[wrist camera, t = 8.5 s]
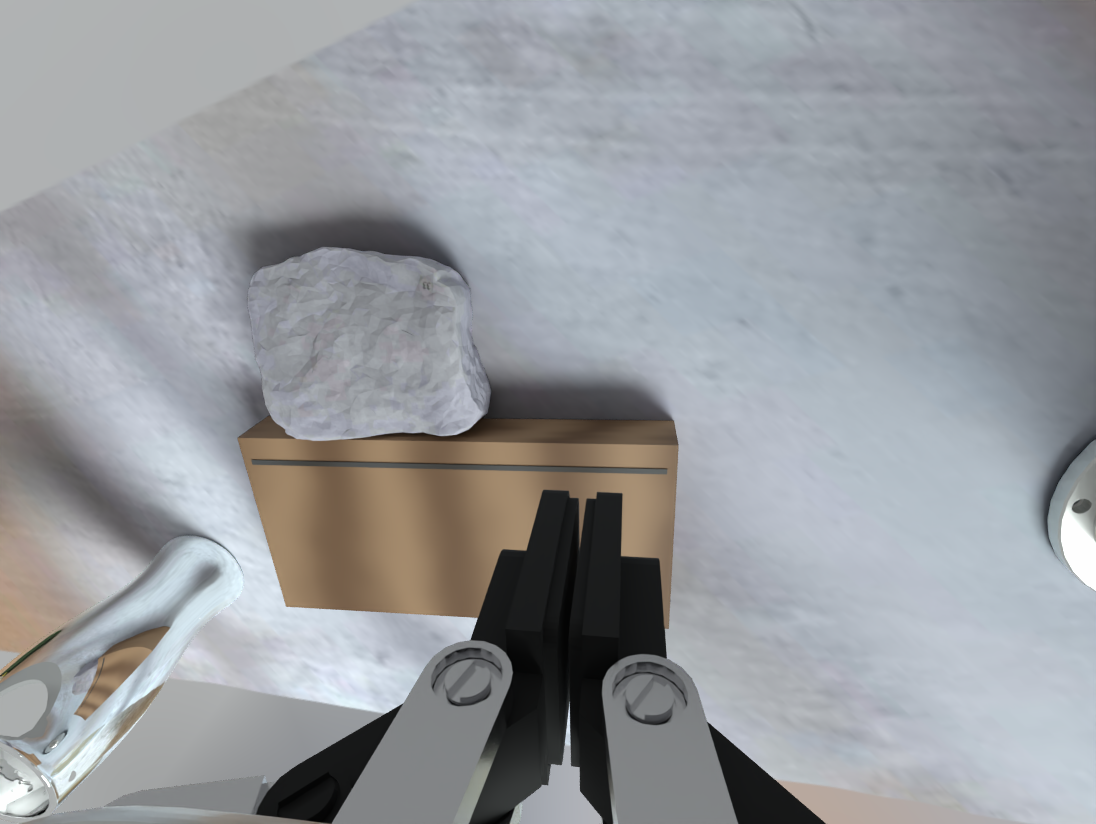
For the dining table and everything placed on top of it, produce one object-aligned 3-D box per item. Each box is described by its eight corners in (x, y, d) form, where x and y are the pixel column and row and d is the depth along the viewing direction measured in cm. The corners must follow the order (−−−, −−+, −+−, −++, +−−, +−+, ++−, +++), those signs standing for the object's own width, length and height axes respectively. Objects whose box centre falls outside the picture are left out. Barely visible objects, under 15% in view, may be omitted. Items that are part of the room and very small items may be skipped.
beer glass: (173, 605, 42) (-45, 818, 28) (143, 526, 39) (-113, 720, 26) (260, 611, 41) (80, 834, 27) (237, 531, 38) (23, 735, 25)
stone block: (277, 259, 32) (306, 429, 34) (221, 254, 28) (258, 451, 30) (480, 240, 31) (498, 418, 33) (457, 230, 26) (480, 439, 28)
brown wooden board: (673, 420, 31) (678, 446, 28) (665, 593, 36) (668, 629, 33) (268, 416, 34) (236, 438, 32) (309, 575, 39) (285, 607, 36)
